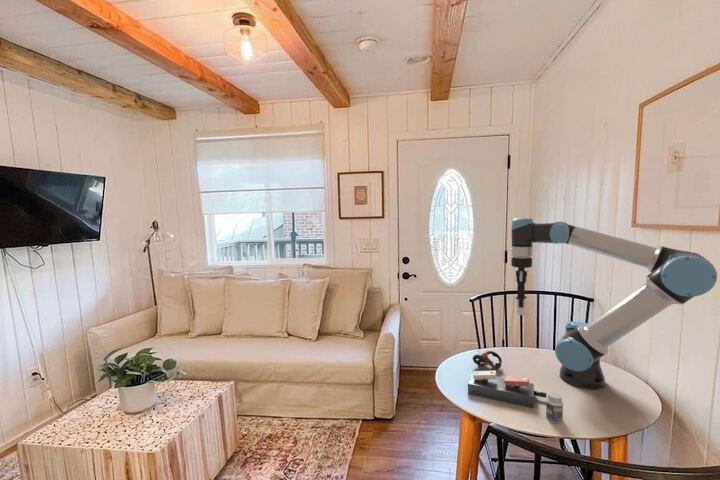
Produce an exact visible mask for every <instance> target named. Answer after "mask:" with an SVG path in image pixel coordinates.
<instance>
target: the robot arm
mask: <svg viewBox="0 0 720 480" xmlns="http://www.w3.org/2000/svg"><path fill="white" fill-rule="evenodd" d="M533 243H537V244H541V243H544V244H556V245H557V244H566V245H570V246H574V247H577V248H581V249H583V250H586V251H590V252H593V253H597V254H599V255H603V256H606V257H610V258H613V259H616V260H619V261H622V262H626V263H630V264H633V265H636V266H639V267H642V268H645V269H647V270H648V271H649V274H648V275H646V276H645V277H646V281H645V283H644V284H643V285H641V286H640V287H639V288H638V289H636V290H635V291H633V292H632V293H630V294H629V295H627V296H626V297H625V298H624V299H622V300H620V301H619V302H618V303H617V304H615V305H614V306H613V307H611V308H610V309H609V310H607V311H605V312H604V313H603V314H601V315H600V316H598V317H597V318H596V319H595V320H593V321H592V322H590V323H589V322H583V321H573V320H572V321H567V322H566V323H565V326H564V328H565V333H564V335H562V337H561V338H560V340H559V341H557V343H556V345H555V348H554V349H555V350H554V352H555V353H554V354H555V357H556V358H557V361H558V362H559V363H560V364H561V366H560V368H559V377H560V379H561V380H563V381H564V382H565V383H568V384H570V385H572V386H575V387H578V388H582V389H587V390H588V389H589V390H599V389H602V388H604V387H605V385H606V379H605V375H604V372H603V369H602V366H601V360H600V359H601V358H602V357H603V356H606V355H607V354H608V352H609V351H608V350H609V349H608V347H610V346H611V345H612V344H614V343H616V342H617V341H618V340H620V339H621V338H623V337H624V336H626V335H627V334H629V333H630V332H632V331H634V330H635V329H636V328H638V327H640V326H641V325H643V324H644V323H646V322H647V321H649V320H650V319H652V318H653V317H655V316H657V315H658V314H659V313H661V312H662V311H665V310H666V309H667V308H668V307H670V306H672V305H684V304H685V303H687V302H688V301H690V300H691V299H693V298H695V297H698V296H703V295H704V294H707V293H708V292H710V291H711V290H712V289H714V287H715V285H716V283H717V280H718V272H717V270H716V267H715V266H714V264H712V263H711V262H710V261H709V260H708V259H707V258H706V257H705V256H703V255H702V256H703V257H702V256H701V254H700V253H696V252H693V251H687V250H680V249H676V248H671V247H666V246H663V245H661V246H658V247H654V246H651V245H647V244H643V243H640V242H636V241H631V240H628V239H624V238H622V237H616V236H615V235H614V236H613V235H609V234H605V233H603V232H602V233H601V232H598V231H595V230H591V229H587V228H584V227H583V228H582V227H580V226H575V225H572V224H568V223H566V222H564V221H555V222H549V223H547V222H546V223H543V222H542V223H535V222H534V220H533V218H531V217H530V218H528V217H525V218H524V217H523V218H522V217H521V218H519V217H518V218H514V219H513V220H512V222H511V248H509V251H511V256H512V257H511V260H510V261H511V263H510V265H511V266H512V267H513V268H517V270H516V271H515V277H516V283H517V295H516V296H515V300H517V302H516V303H517V304H516V308H517V309H516V315H518V316H525V314H526V311H525V310H526V307H525V306H526V299H527V295H526V286H525V285H526V283H527V276H528V270H525V269H527V268H528V269H529V268H532V266H533ZM691 252H692V253H691ZM699 254H700V255H699ZM704 257H705V258H706V259H707V260H706V259H705V258H704Z"/></svg>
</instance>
